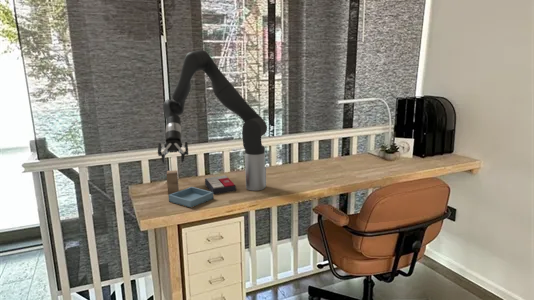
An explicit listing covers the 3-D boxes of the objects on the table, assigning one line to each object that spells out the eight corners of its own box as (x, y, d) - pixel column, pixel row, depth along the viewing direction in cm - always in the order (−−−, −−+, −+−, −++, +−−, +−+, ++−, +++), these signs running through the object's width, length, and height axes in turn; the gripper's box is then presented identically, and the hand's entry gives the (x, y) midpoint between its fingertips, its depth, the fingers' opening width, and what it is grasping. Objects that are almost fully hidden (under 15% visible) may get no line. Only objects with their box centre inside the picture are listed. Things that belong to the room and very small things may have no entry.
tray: (192, 192, 183) (191, 186, 182) (213, 198, 175) (213, 192, 174) (168, 201, 172) (168, 194, 171) (190, 208, 164) (190, 201, 164)
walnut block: (168, 191, 185) (167, 170, 183) (178, 190, 186) (177, 170, 183) (168, 194, 181) (166, 173, 178) (178, 194, 181) (176, 173, 179)
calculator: (213, 187, 180) (204, 176, 193) (213, 196, 181) (204, 185, 194) (236, 184, 184) (226, 174, 197) (236, 192, 185) (226, 182, 198)
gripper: (157, 130, 192) (156, 159, 184) (187, 129, 194) (187, 157, 186) (159, 138, 199) (158, 166, 190) (188, 137, 201) (188, 165, 192)
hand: (173, 162), depth 188 cm, fingers open, 8 cm apart
